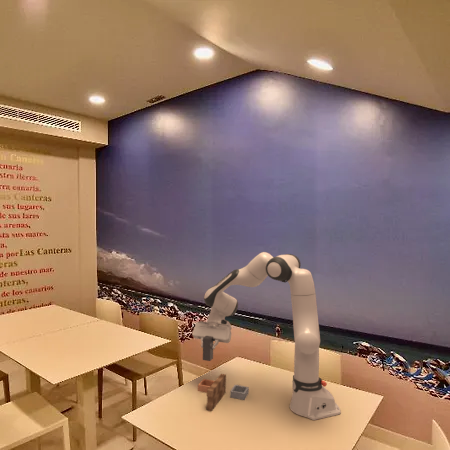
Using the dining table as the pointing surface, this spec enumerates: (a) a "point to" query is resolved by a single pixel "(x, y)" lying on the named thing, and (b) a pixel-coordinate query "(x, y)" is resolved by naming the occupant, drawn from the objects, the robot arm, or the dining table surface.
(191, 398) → the dining table surface
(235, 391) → the frame
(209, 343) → the bar
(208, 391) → the door panel
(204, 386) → the frame
